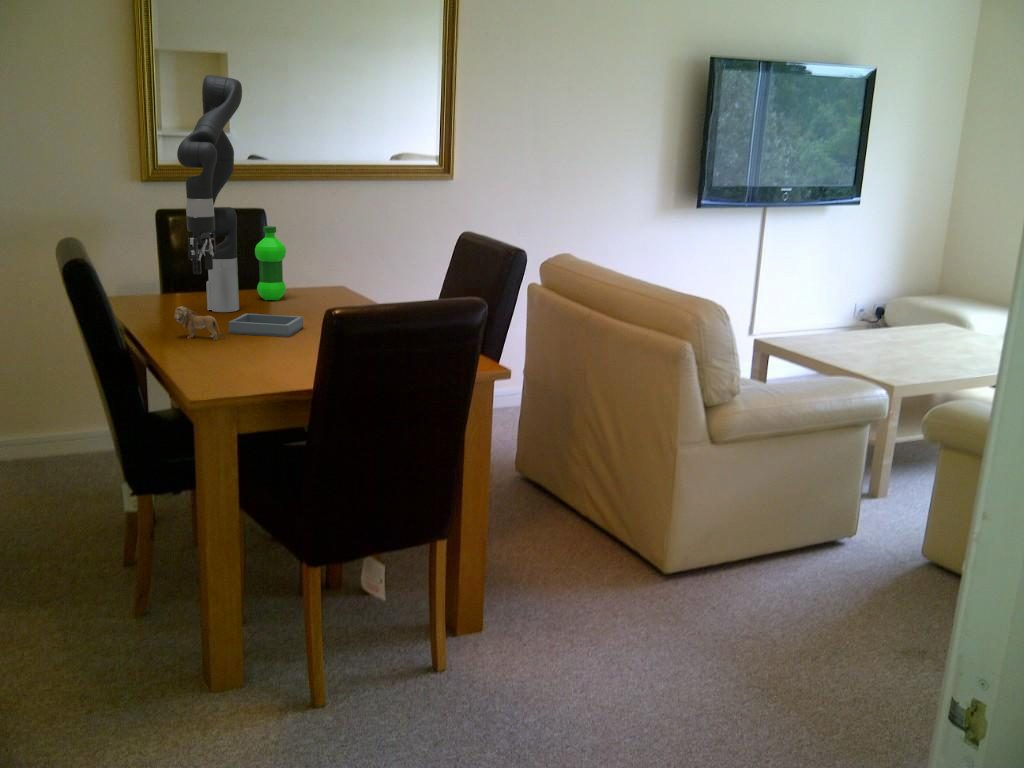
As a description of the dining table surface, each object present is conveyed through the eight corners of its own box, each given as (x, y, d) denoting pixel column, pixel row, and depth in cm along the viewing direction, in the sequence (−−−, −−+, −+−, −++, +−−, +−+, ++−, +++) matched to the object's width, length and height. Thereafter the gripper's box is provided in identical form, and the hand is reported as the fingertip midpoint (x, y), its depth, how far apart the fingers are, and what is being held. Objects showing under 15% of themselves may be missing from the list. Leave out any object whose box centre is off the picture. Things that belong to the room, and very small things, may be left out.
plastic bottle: (253, 297, 362) (251, 225, 355) (283, 296, 366) (281, 224, 359) (259, 302, 353) (257, 229, 346) (290, 301, 357) (288, 228, 351)
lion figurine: (172, 338, 298) (171, 307, 296) (179, 334, 303) (178, 304, 301) (222, 341, 297) (221, 310, 295) (229, 337, 302) (227, 306, 300)
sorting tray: (229, 333, 306) (228, 322, 305) (246, 324, 319) (245, 313, 318) (288, 337, 304) (288, 325, 303) (303, 328, 317) (303, 316, 316)
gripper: (197, 211, 299) (200, 267, 304) (177, 216, 286) (180, 274, 290) (222, 212, 299) (225, 268, 303) (203, 217, 285) (206, 276, 289)
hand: (203, 271), depth 296 cm, fingers open, 8 cm apart
